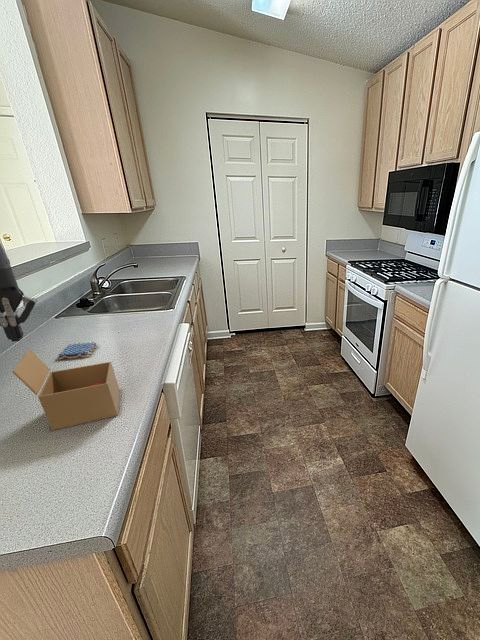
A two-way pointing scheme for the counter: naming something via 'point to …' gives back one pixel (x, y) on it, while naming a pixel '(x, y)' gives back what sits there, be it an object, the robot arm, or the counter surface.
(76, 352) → the woven mat
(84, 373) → the carton
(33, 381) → the flap
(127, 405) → the counter surface
